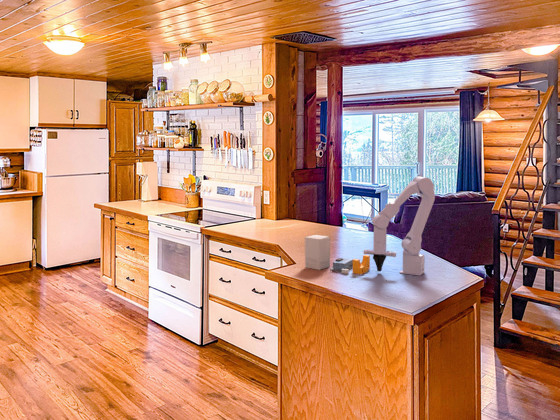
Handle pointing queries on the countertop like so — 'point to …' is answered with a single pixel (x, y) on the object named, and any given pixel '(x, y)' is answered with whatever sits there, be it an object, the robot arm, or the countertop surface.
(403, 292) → the countertop surface
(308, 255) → the supplement box
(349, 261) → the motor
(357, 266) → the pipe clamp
